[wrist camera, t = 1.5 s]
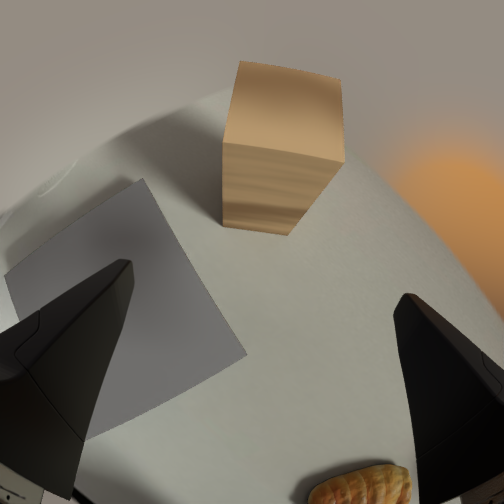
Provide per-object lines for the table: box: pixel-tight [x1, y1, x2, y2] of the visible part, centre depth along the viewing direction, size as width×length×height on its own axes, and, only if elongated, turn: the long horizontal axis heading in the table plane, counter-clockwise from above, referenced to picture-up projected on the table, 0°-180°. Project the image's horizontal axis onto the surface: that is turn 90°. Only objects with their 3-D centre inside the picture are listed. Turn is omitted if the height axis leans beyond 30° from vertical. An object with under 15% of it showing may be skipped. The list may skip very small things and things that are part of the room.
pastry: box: [308, 464, 412, 504], centre depth 18 cm, size 9×7×4 cm
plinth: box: [4, 178, 247, 440], centre depth 19 cm, size 14×14×3 cm
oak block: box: [222, 61, 345, 236], centre depth 18 cm, size 5×5×12 cm
